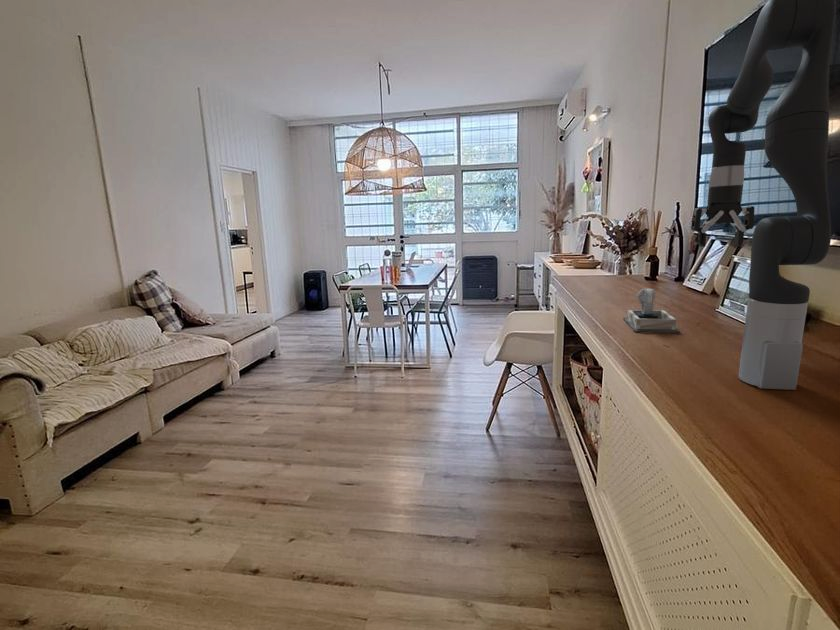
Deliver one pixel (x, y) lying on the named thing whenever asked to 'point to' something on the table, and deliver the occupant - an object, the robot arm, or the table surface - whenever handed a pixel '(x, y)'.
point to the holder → (652, 322)
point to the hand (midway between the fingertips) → (719, 246)
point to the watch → (646, 304)
